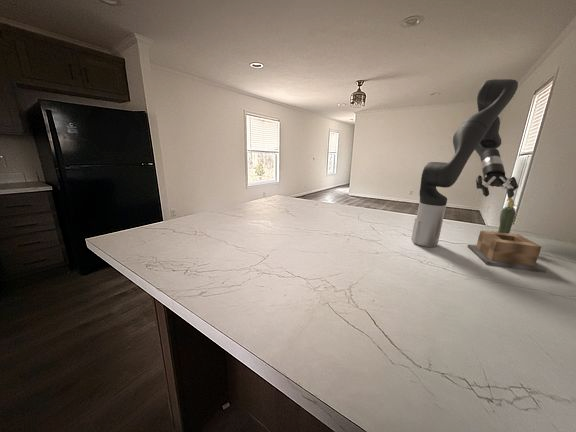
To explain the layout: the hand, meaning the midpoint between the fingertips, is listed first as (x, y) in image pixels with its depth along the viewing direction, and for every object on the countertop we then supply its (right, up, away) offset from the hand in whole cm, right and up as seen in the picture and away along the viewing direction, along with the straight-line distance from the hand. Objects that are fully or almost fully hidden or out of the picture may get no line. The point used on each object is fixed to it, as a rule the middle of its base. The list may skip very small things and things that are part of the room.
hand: (498, 196), depth 100 cm
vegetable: (-3, -21, -3) cm, 21 cm away
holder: (-14, -24, -16) cm, 32 cm away
